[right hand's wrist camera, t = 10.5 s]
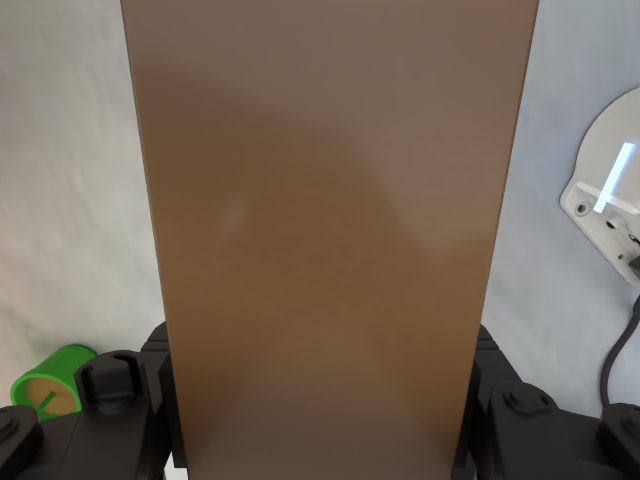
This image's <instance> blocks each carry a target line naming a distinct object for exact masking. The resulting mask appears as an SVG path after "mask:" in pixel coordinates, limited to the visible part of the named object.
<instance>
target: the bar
mask: <svg viewBox="0 0 640 480" xmlns="http://www.w3.org/2000/svg"><path fill="white" fill-rule="evenodd" d="M120 2H121V9H122V16H123V23H124V30H125V37H126V44H127V51H128V58H129V65H130V72H131V79H132V86H133V93H134V100H135V107H136V114H137V121H138V128H139V135H140V143H141V150H142V157H143V164H144V171H145V178H146V185H147V192H148V199H149V206H150V213H151V220H152V227H153V234H154V241H155V248H156V255H157V262H158V269H159V276H160V283H161V291H162V298H163V305H164V312H165V319H166V326H167V333H168V340H169V347H170V354H171V361H172V368H173V375H174V382H175V389H176V396H177V403H178V410H179V417H180V424H181V431H182V439H183V446H184V453H185V460H186V467H187V474H188V480H452V475H453V469H454V464H455V458H456V453H457V447H458V442H459V437H460V431H461V426H462V420H463V415H464V409H465V404H466V398H467V393H468V387H469V382H470V376H471V371H472V366H473V360H474V355H475V349H476V344H477V338H478V333H479V327H480V322H481V316H482V311H483V305H484V300H485V295H486V289H487V284H488V278H489V273H490V267H491V262H492V256H493V251H494V245H495V240H496V234H497V229H498V224H499V218H500V213H501V207H502V202H503V196H504V191H505V185H506V180H507V174H508V169H509V163H510V158H511V153H512V147H513V142H514V136H515V131H516V125H517V120H518V114H519V109H520V103H521V98H522V93H523V87H524V82H525V76H526V71H527V65H528V60H529V54H530V49H531V43H532V38H533V32H534V27H535V22H536V16H537V11H538V5H539V0H120Z"/></svg>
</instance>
